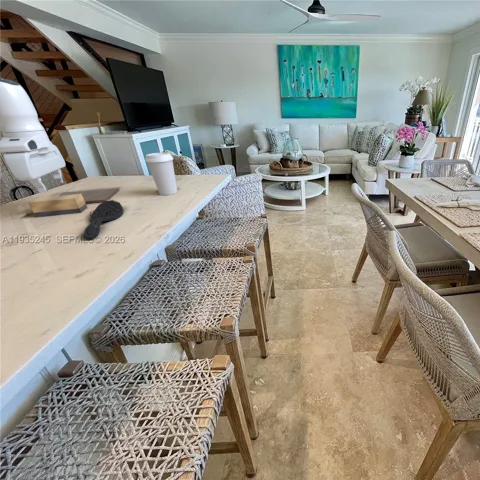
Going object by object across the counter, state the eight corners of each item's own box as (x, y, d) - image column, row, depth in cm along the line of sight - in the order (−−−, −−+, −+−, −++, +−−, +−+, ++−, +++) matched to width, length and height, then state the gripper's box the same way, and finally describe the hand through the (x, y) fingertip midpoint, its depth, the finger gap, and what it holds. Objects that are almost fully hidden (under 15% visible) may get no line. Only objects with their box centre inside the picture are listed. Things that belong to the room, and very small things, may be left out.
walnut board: (37, 208, 91) (35, 206, 90) (60, 195, 104) (59, 192, 104) (105, 202, 96) (104, 199, 96) (119, 190, 110) (118, 187, 109)
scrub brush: (35, 217, 84) (27, 202, 81) (44, 211, 88) (37, 197, 86) (81, 212, 87) (74, 198, 85) (87, 207, 91) (81, 193, 89)
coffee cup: (153, 192, 107) (141, 153, 100) (178, 188, 112) (169, 151, 105) (157, 198, 100) (145, 157, 93) (184, 193, 105) (174, 154, 99)
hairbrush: (65, 233, 67) (93, 199, 86) (72, 246, 68) (97, 209, 88) (105, 228, 70) (123, 196, 89) (110, 240, 71) (127, 206, 91)
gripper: (36, 138, 85) (56, 180, 92) (-10, 147, 68) (19, 198, 75) (60, 137, 87) (78, 178, 93) (21, 145, 70) (47, 195, 76)
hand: (52, 187), depth 84 cm, fingers open, 8 cm apart
